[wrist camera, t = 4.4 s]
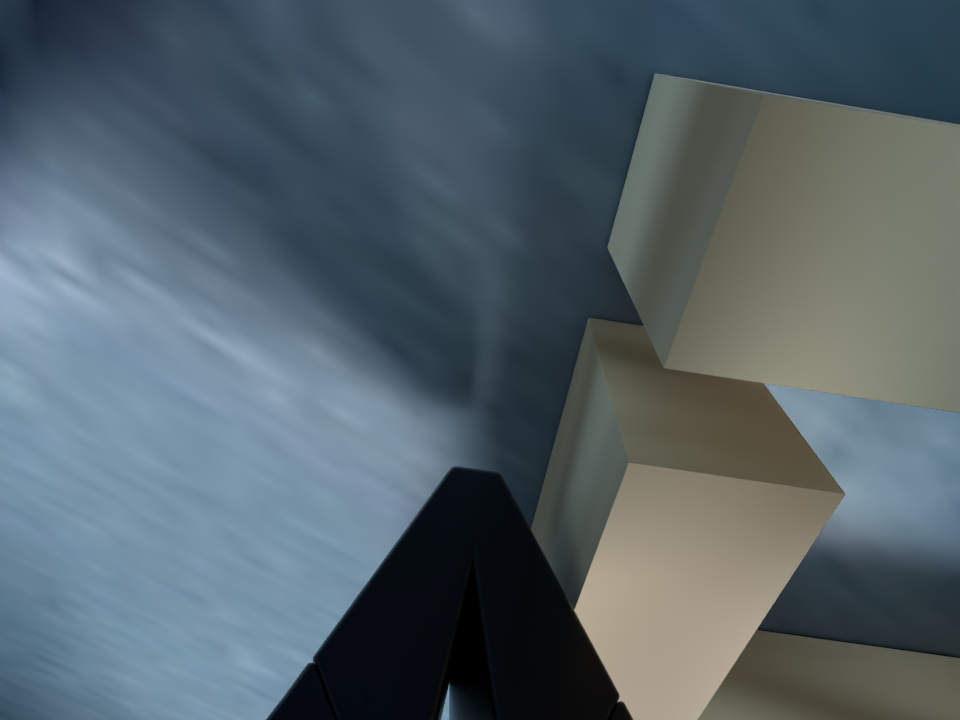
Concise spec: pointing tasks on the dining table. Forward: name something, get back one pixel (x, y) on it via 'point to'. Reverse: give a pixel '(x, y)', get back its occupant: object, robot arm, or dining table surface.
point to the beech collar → (749, 395)
